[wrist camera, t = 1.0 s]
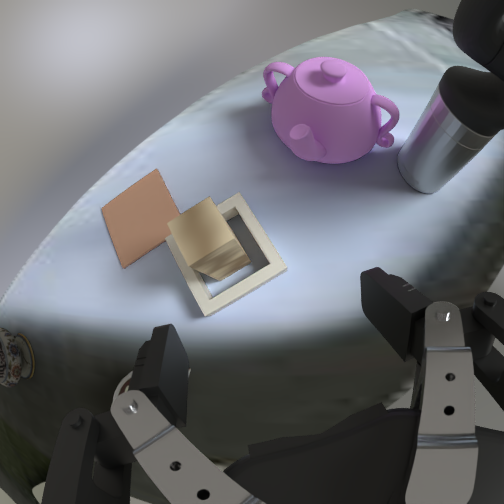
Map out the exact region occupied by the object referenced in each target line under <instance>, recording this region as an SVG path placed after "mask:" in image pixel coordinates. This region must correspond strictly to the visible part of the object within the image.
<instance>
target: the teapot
mask: <svg viewBox="0 0 504 504" xmlns="http://www.w3.org/2000/svg"><path fill="white" fill-rule="evenodd" d="M273 71H275V72H279V73H282V74H284V75H286V77H285V79H284V80H283V81H282V82H281V84H280V86H279V87H278V85H277V82H276V80H275V78H274V75H273ZM263 76H264V80H265V83H266V86H267V87H266V88H264V90H263V91H262V97H263V98H264V99H265V100H266V101H267V102H269V103H272V110H271V115H272V124H273V127H274V130H275V132H276V133H277V135H278V137H279V138H280V139H281V140H282V142H283V143H284V144H285V145H286V146H287V147H289V148H290V149H291V150H292V151H293V153H294V154H295V155H296V156H298V157H299V158H301V159H303V160H306V161H317V162H322V163H329V164H339V163H346V162H351V161H354V160H356V159H358V158H360V157H362V156H364V155H365V154H367V153H368V152H369V151H370V150H371V149H372V148H373V147H374V145H375V144H376V143H377V144H378V145H379V146H381V147H385V148H388V147H390V146H392V144H393V143H394V137H393V135H392V134H391V133H388V132H389V131H390V130H392V129H393V128H394V127H395V126H396V124H397V122H398V120H399V110H398V108H397V106H396V105H395V104H394V103H393V102H392V101H391V100H389V99H388V98H386V97H384V96H381V95H377V94H376V93H375V91H374V89H373V87H372V85H371V83H370V81H369V80H368V78H367V77H366V76H365V74H364V73H363V72H362V71H361V70H360V69H358V68H357V67H356V66H354V65H352V64H350V63H348V62H346V61H344V60H340V59H337V58H331V57H317V58H312V59H309V60H306V61H304V62H302V63H301V64H299V65H298V66H297V67H296V68H294V67H292V66H290V65H288V64H286V63H283V62H274V63H271V64H269V65H268V66H267V67H266V68H265V70H264V73H263ZM380 107H381V108H383V109H385V110H386V111H387V112H388V113H389V114H390V115H391V119H390V120H389V121H388V122H387V123H386V124H385V125H383V126H382V127H381V109H380Z"/></svg>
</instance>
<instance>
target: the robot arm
mask: <svg viewBox="0 0 504 504" xmlns="http://www.w3.org/2000/svg"><path fill="white" fill-rule="evenodd" d="M453 37H454V40H455V42H456V44H457V46H458V47H459V48H460V49H461V50H462V51H463V52H464V53H466V54H467V55H468V56H469V57H471V58H472V59H473V60H475V61H476V62H477V63H479V64H480V65H482V66H483V67H485V68H486V69H487V70H489V71H490V72H483V71H478V70H475V69H471V68H467V67H463V66H453V67H450V68H449V69H447V70H446V72H445V73H444V75H443V77H442V79H441V80H440V83H439V84H438V86H437V88H436V90H435V92H434V94H433V95H432V97H431V99H430V101H429V103H428V105H427V106H426V108H425V110H424V112H423V113H422V115H421V117H420V119H419V120H418V122H417V124H416V125H415V127H414V129H413V130H412V132H411V134H410V135H409V137H408V139H407V140H406V142H405V144H404V145H403V147H402V148H401V150H400V152H399V154H398V158H397V161H398V167H399V170H400V173H401V175H402V176H403V178H404V179H405V181H406V182H407V183H408V184H409V185H410V186H412V187H413V188H414V189H416V190H418V191H420V192H423V193H428V194H429V193H435V192H437V191H438V190H440V189H441V188H442V187H443V186H444V185H445V184H446V183H447V182H448V181H450V180H451V179H452V178H453V177H454V176H455V175H456V174H457V173H458V172H459V171H460V170H461V169H462V168H463V167H464V166H465V165H466V164H467V163H469V162H470V161H471V160H472V159H473V158H474V157H475V156H476V155H477V154H478V153H479V152H480V151H481V150H482V149H483V147H484V146H485V145H486V144H487V143H488V142H489V141H490V140H491V139H492V138H493V137H494V136H495V135H496V134H497V133H498V132H499V131H500V130H502V129H504V0H461V2H460V4H459V7H458V9H457V12H456V15H455V18H454V22H453ZM360 280H361V303H362V309H363V312H364V314H365V315H366V317H367V318H368V319H369V320H370V322H371V323H372V324H373V325H374V326H375V327H376V328H377V330H378V331H379V332H380V333H381V334H382V335H383V337H384V338H385V339H386V340H387V341H388V343H389V344H390V345H391V346H392V347H393V348H394V350H395V351H396V352H397V353H398V354H399V356H400V357H401V358H402V359H403V361H404V362H406V361H408V360H410V359H412V358H414V357H415V358H416V360H417V364H416V370H415V379H414V387H413V394H412V401H411V406H410V409H409V408H396V409H389V410H386V409H385V407H384V405H383V404H382V402H381V403H379V404H376V405H374V406H372V407H369V408H367V409H365V410H362V411H360V412H357V413H355V414H352V415H350V416H349V417H347V418H346V419H344V420H343V421H341V422H340V423H338V424H336V425H335V426H333V427H332V428H330V429H328V430H327V431H325V432H323V433H321V434H317V435H307V436H295V437H282V438H278V439H274V440H270V441H265V442H261V443H256V444H251V445H248V448H249V455H247V456H244V457H242V458H241V459H239V460H237V461H236V462H234V463H233V464H231V465H230V466H229V467H227V468H226V469H225V470H224V471H223V472H222V471H221V470H220V469H219V468H218V467H217V466H215V465H214V464H213V463H212V462H211V461H210V460H209V459H208V458H206V457H205V456H204V455H203V454H202V453H201V452H200V451H199V450H198V449H197V448H196V447H195V446H194V445H193V444H192V443H191V442H190V441H189V440H188V439H187V438H186V437H185V436H184V435H183V434H182V433H181V432H180V431H179V430H178V429H177V428H179V427H186V416H187V393H188V374H189V361H188V356H187V353H186V351H185V349H184V347H183V345H182V342H181V340H180V338H179V336H178V334H177V332H176V329H175V327H174V326H173V325H172V324H168V325H163V326H159V327H155V328H154V329H153V333H152V337H151V340H149V341H146V342H145V343H144V344H143V345H142V347H141V348H140V349H139V352H138V355H137V360H136V362H135V365H134V366H135V367H134V369H133V372H132V376H131V380H130V383H129V387H128V391H126V392H124V393H122V394H120V395H119V396H118V397H117V398H116V399H115V400H114V401H113V403H112V405H111V410H109V411H107V412H104V413H101V414H98V415H95V416H93V415H92V413H91V412H90V411H89V410H88V409H86V408H76V409H74V410H72V411H70V412H69V413H68V414H67V415H66V416H65V417H64V419H63V421H62V424H61V427H60V430H59V434H58V437H57V440H56V444H55V447H54V451H53V454H52V458H51V462H50V466H49V470H48V474H47V478H46V483H45V488H44V493H43V497H42V503H41V504H130V484H131V467H132V462H135V461H138V462H139V463H140V465H141V466H142V467H143V469H144V470H145V471H146V473H147V474H148V475H149V477H150V478H151V479H152V481H153V482H154V483H155V484H156V486H157V487H158V488H159V489H160V491H161V492H162V493H163V494H164V496H165V497H166V498H167V499H168V500H169V501H170V503H171V504H504V432H502V431H498V430H493V429H488V428H484V427H480V426H475V384H474V375H475V376H476V377H477V379H478V380H479V381H480V382H481V383H482V385H483V386H484V387H485V388H486V389H487V391H488V392H489V393H490V394H491V396H492V397H493V398H494V399H495V401H496V402H497V403H498V404H499V406H500V407H501V408H502V410H503V411H504V356H503V355H502V354H501V353H500V352H499V351H497V350H496V348H494V347H493V343H494V340H495V337H496V338H497V339H498V340H499V341H500V342H501V343H502V344H503V345H504V299H503V298H502V297H501V296H499V295H497V294H495V293H492V292H482V293H479V294H478V295H477V296H476V297H475V300H474V305H473V307H468V308H464V309H460V310H459V309H458V308H457V307H456V306H455V305H453V304H451V303H448V302H435V303H433V302H432V301H431V300H430V299H428V298H427V297H426V296H424V295H423V294H422V293H421V292H419V291H418V290H417V289H414V287H413V286H412V285H410V284H408V282H406V281H405V280H404V279H402V278H401V277H398V276H395V275H392V274H390V275H388V274H387V273H386V272H384V271H383V270H382V269H380V268H379V267H375V268H372V269H369V270H366V271H363V272H362V273H361V276H360ZM94 460H95V461H96V463H95V469H94V476H93V480H92V468H93V462H94Z"/></svg>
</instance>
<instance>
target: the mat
mask: <svg viewBox="0 0 504 504" xmlns="http://www.w3.org/2000/svg"><path fill="white" fill-rule="evenodd" d="M101 209H102V212H103V215H104V218H105V221H106V224H107V227H108V230H109V233H110V236H111V238H112V241H113V244H114V247H115V249H116V252H117V255H118V257H119V260H120V262H121V265H122V267H123V268H124V269H125V268H126V267H127V266H129V265H130V264H132V263H133V262H135V261H136V260H138V259H139V258H141V257H142V256H144V255H145V254H147V253H148V252H150V251H151V250H153V249H154V248H156V247H157V246H159V245H160V244H162V243H163V242H165V241H166V240H165V238H166V237H168V236H169V235H171V234H172V233H171V231H170V229H169V227H168V225H167V223H168V222H170V221H171V220H173V219H174V218H176V217H177V216H179V215H180V213H179V211H178V209H177V207H176V205H175V203H174V201H173V199H172V197H171V195H170V193H169V191H168V189H167V187H166V185H165V183H164V181H163V179H162V177H161V175H160V173H159V171H158V169H155V170H154V171H152V172H151V173H149V174H148V175H146V176H145V177H143V178H142V179H141V180H139V181H138V182H136V183H135V184H133V185H132V186H131V187H129V188H128V189H126V190H125V191H124V192H122V193H121V194H120V195H118V196H117V197H116V198H114V199H113V200H112V201H110V202H109V203H108V204H106V205H105V206H104V207H102V208H101Z"/></svg>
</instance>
